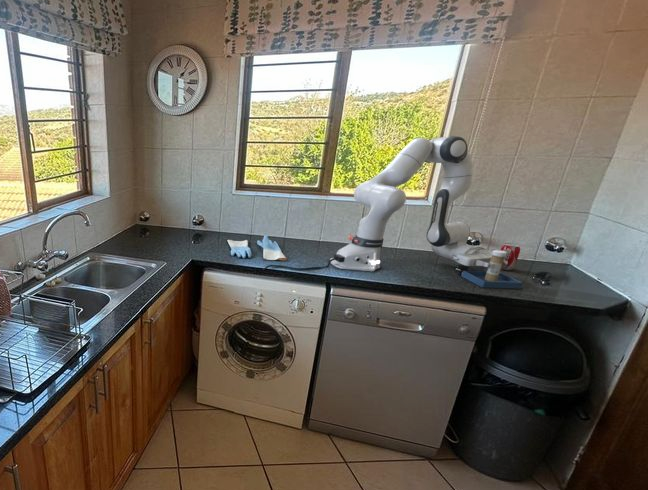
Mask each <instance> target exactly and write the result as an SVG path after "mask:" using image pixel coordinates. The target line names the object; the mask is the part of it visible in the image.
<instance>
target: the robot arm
mask: <svg viewBox="0 0 648 490" xmlns="http://www.w3.org/2000/svg"><path fill="white" fill-rule="evenodd" d="M468 148H469V147H468V143H467V141H466V140H465V138H463V137H462V136H456V135H453V136H440V137H435V138H430V139H427V138H424V137H416V138H414V139H413V140H411V141H410V142H409V143H407V144H406V145H405V147H403V148H402V149H400V151H399V152H398V154H396V156H395V157H394V158H393V159H392V160H391V162H390V163H389V164H388V165H387V166H386V167H385V168H384V169H382V171H381V172H380V173H378V174H376V175H375V176H373V177H372V178H370V179H369V180H367V181H365V182H362V183H361V182H360V183H359V184H358V185H357V186H356V187H355V189H354V192H353V199H354V200H355V201H356V202H358V203H359V204H361V205H362V206H365V207H369V208H370V209H369V211H368V213H367V215H365V216H363V217H361V219H360V220H359V224H358V227H357V228H358V229H357V232H356V233H357V234H356V235H355V236H353V235H348V238H347V239H348V240H350V241H351V242H350V243H348V244H347V245H344V246H343V247H341V248H339V249H338V250H337V251H336V254H333V257H331V258H329V260H328V263H327V265H325V266H311V267H292V266H287V265H282V264H269V265H266V266H264V267H263V269H262V271H265V270H266V269H268V268H271V267H273V268H285V269H290V270H297V271H306V270H307V271H308V270H315V269H319V270H320V269H325V268H328V267H330V265H332V266H334V267H335V268H338V269H341V270H349V271H350V270H351V271H361V272H376V270H380V269H381V250H382V248H383V245H384V241H385V240H384V235H385V231H386V228H387V225H388V222H389V220H390V219H391V217H392V216H393V214H394V213H396V212H397V211H399V210H401V209H402V208H403V207H404V205H405V204H406V200H407V194H406V192H405V191H404V190H402V189H401V188H398V187H399V186H401V185H404V184H407V183H408V182H409V181H411V179H412V178H413V176H414V175H415V174H417V172H418V171H419V170H420V169H421V168H422V166H423V165H424V163H427V164H431V163H433V164H441V166H442V178H441V180H442V181H441V185H440V188H439V190H438V191H437V193H436V195H435V197H434V202H433V207H432V212H431V218H430V224H429V226H428V229H427V231H426V240H427V242H428V243H429V244H430V245H431V250H432V252H433V253H434V254H435V255H437V256H439V257H441V258H444V259H447V260H452V261H454V262H456V263H458V264H460V265H463V266H465V267H476V266H477V267H478V266H479V267H484V268H488V267H490V265H491V264H490V261H491V258H492V253H493V251H494V250H489V249H487V247H482V246H474V245H470V244H467V242H468V241H469V238H470V234H471V228H470V226H469V225H468V224H467V223H466V222H464V221H461V220H459V221H453V222H449V223H447V221H448V214H449V210H450V206H451V205H452V204H453V203H454V202H455V201H456V200H457V199H459V198H460V197H462V196H464V195H465V194H467V193H468V192H469V190H470V189H471V188H472V185H473V181H474V162H473V157H472V154H471V152H469V150H468ZM507 264H508V262H506V261H503V264H502V265H503V266H507Z"/></svg>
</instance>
